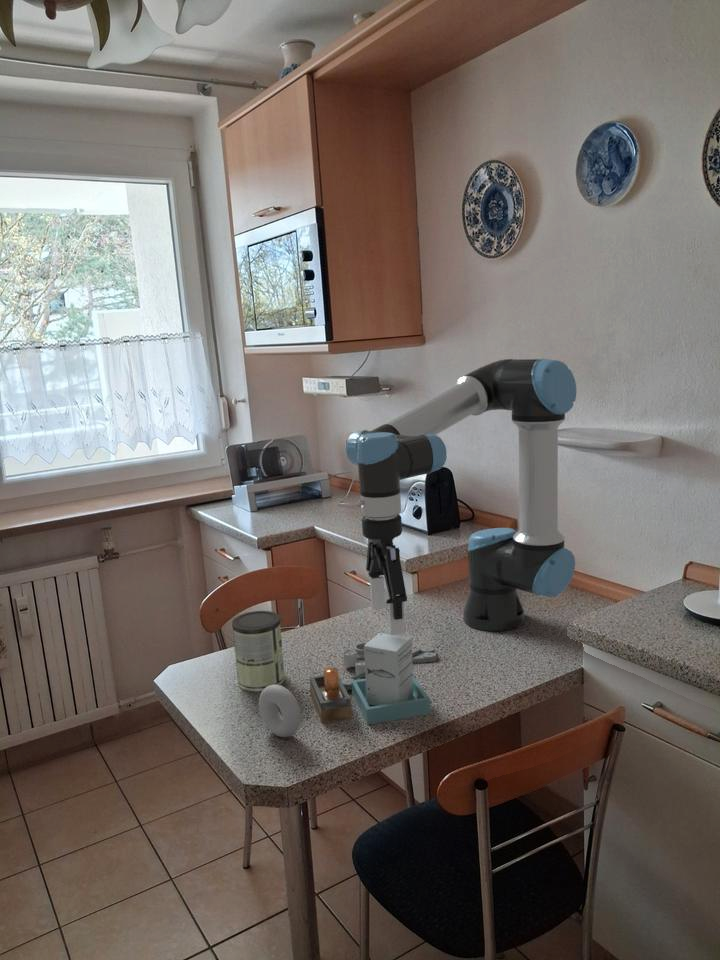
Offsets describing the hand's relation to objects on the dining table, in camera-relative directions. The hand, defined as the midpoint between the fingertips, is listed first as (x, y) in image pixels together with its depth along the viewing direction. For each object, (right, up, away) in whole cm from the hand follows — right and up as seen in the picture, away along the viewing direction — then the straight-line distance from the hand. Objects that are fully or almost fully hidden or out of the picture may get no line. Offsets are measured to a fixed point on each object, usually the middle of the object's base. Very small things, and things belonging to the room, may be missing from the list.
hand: (387, 620), depth 150 cm
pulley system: (-1, -14, +21) cm, 26 cm away
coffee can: (-27, -16, +16) cm, 35 cm away
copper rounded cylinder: (-11, -16, 0) cm, 19 cm away
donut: (-20, -20, -6) cm, 29 cm away
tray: (+1, -17, +3) cm, 18 cm away
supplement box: (+1, -17, +4) cm, 17 cm away
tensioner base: (-11, -18, +4) cm, 21 cm away
